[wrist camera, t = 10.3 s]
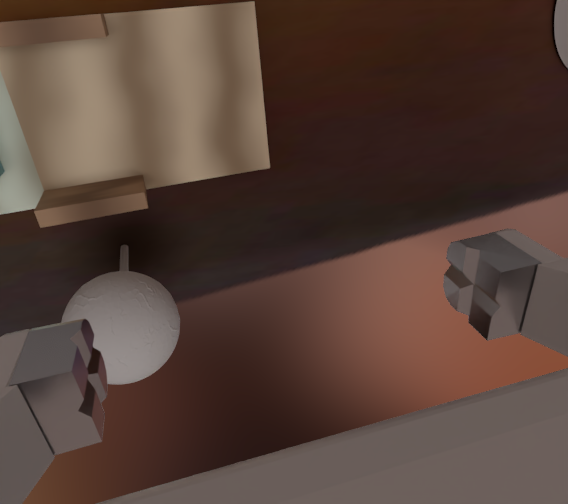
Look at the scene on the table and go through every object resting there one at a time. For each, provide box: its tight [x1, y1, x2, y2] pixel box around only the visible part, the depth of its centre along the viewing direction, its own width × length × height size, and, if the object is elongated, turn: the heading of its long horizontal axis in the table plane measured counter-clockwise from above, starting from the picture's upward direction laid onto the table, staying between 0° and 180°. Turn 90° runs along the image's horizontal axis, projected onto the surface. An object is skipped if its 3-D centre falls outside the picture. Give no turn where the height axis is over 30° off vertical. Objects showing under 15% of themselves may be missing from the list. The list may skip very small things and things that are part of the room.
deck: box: [0, 1, 270, 228], centre depth 29 cm, size 35×12×6 cm, turn 95°
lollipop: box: [61, 245, 180, 384], centre depth 32 cm, size 7×7×15 cm
